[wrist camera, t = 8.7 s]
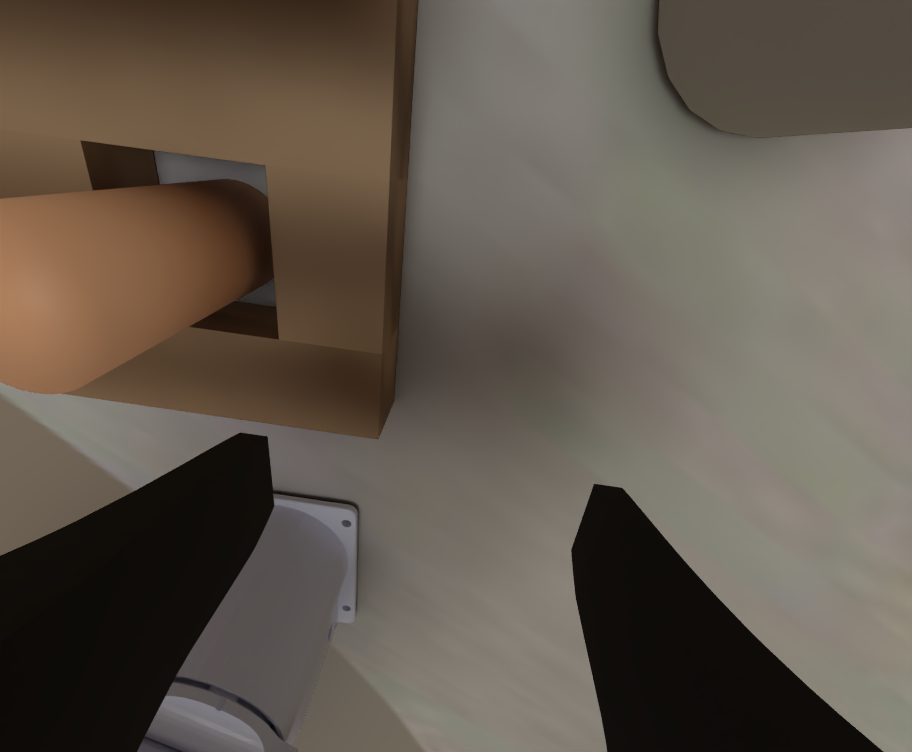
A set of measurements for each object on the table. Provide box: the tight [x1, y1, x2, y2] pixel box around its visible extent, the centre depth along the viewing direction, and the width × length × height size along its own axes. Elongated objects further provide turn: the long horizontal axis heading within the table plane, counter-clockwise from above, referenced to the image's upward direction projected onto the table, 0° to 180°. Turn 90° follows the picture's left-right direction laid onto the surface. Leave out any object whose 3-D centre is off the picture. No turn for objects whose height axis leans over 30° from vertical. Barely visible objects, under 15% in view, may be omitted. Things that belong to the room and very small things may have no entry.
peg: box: [0, 179, 274, 394], centre depth 13 cm, size 4×4×9 cm
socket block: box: [0, 0, 418, 439], centre depth 12 cm, size 16×13×10 cm
